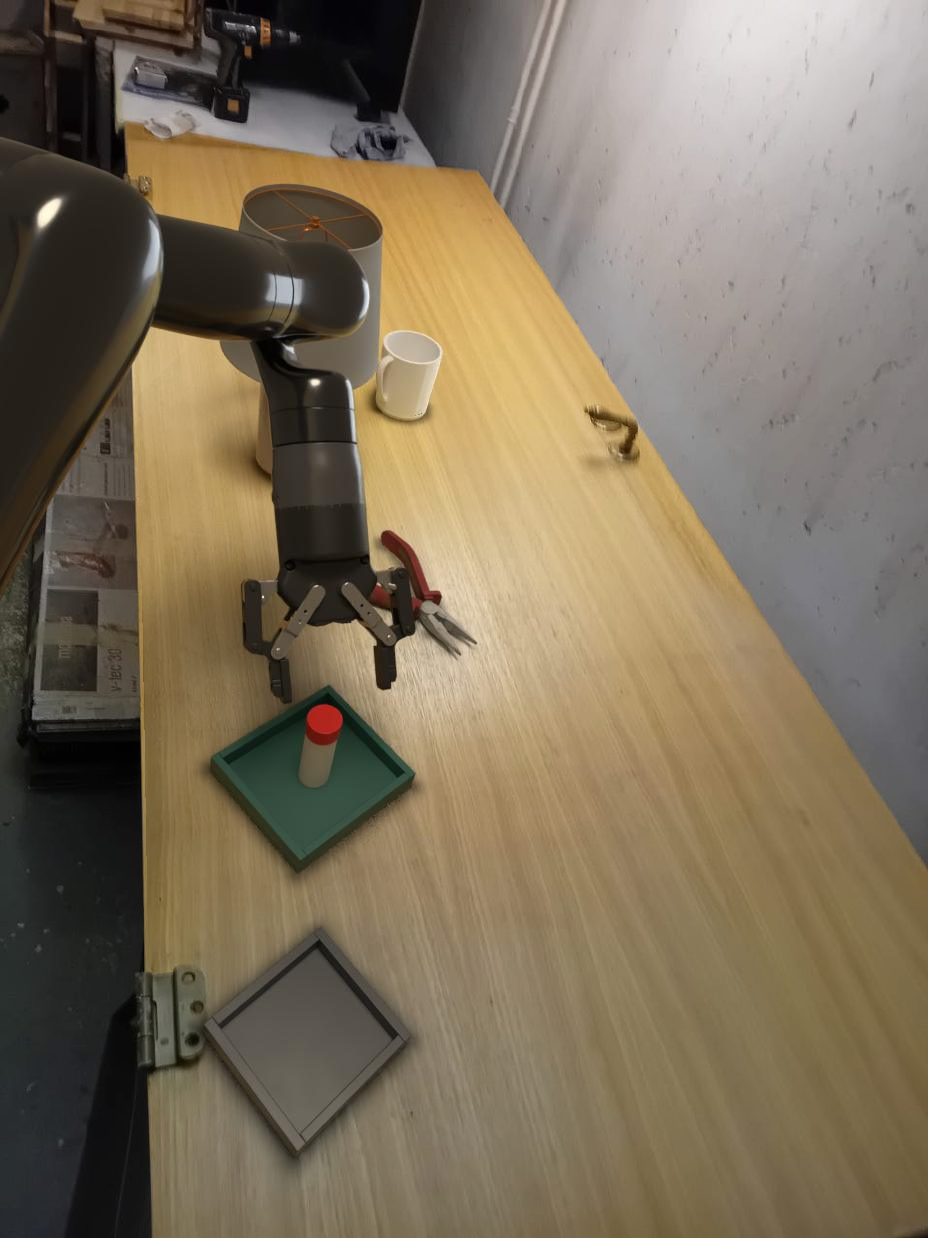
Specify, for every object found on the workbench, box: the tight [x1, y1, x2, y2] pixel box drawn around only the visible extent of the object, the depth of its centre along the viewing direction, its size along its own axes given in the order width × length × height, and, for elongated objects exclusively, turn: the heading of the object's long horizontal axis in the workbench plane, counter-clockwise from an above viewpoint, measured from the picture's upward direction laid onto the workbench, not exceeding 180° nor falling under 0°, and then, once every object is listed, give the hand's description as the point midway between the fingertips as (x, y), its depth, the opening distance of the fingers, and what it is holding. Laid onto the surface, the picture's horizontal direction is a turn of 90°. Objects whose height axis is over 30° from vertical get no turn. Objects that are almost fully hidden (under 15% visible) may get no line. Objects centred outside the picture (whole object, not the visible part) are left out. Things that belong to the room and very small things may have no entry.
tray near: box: [202, 926, 413, 1159], centre depth 65 cm, size 12×12×3 cm
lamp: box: [219, 183, 384, 478], centre depth 100 cm, size 19×19×34 cm
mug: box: [375, 329, 444, 422], centre depth 123 cm, size 11×9×10 cm
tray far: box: [209, 684, 417, 874], centre depth 81 cm, size 15×14×3 cm
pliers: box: [368, 529, 478, 657], centre depth 100 cm, size 12×20×3 cm, turn 46°
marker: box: [298, 705, 343, 788], centre depth 78 cm, size 3×3×10 cm
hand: (336, 695), depth 69 cm, fingers open, 8 cm apart
